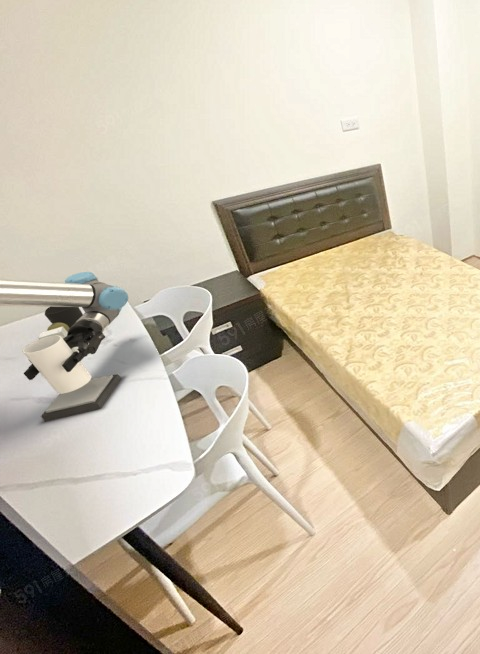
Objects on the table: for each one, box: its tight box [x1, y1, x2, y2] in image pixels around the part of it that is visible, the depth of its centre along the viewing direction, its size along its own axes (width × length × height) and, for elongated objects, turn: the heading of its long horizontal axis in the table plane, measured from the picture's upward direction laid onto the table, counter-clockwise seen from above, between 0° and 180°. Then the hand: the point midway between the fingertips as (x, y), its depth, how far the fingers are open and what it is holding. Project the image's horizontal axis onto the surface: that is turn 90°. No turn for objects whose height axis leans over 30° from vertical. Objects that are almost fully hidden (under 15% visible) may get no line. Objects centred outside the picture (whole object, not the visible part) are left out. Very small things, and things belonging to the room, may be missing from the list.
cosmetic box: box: [37, 327, 79, 353], centre depth 143 cm, size 6×4×12 cm
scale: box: [40, 373, 123, 422], centre depth 126 cm, size 14×14×3 cm
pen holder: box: [44, 307, 84, 329], centre depth 160 cm, size 9×9×10 cm
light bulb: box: [46, 323, 69, 332], centre depth 150 cm, size 6×6×10 cm
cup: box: [22, 335, 92, 394], centre depth 120 cm, size 8×8×16 cm
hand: (47, 372), depth 116 cm, fingers closed on cup, 8 cm apart
